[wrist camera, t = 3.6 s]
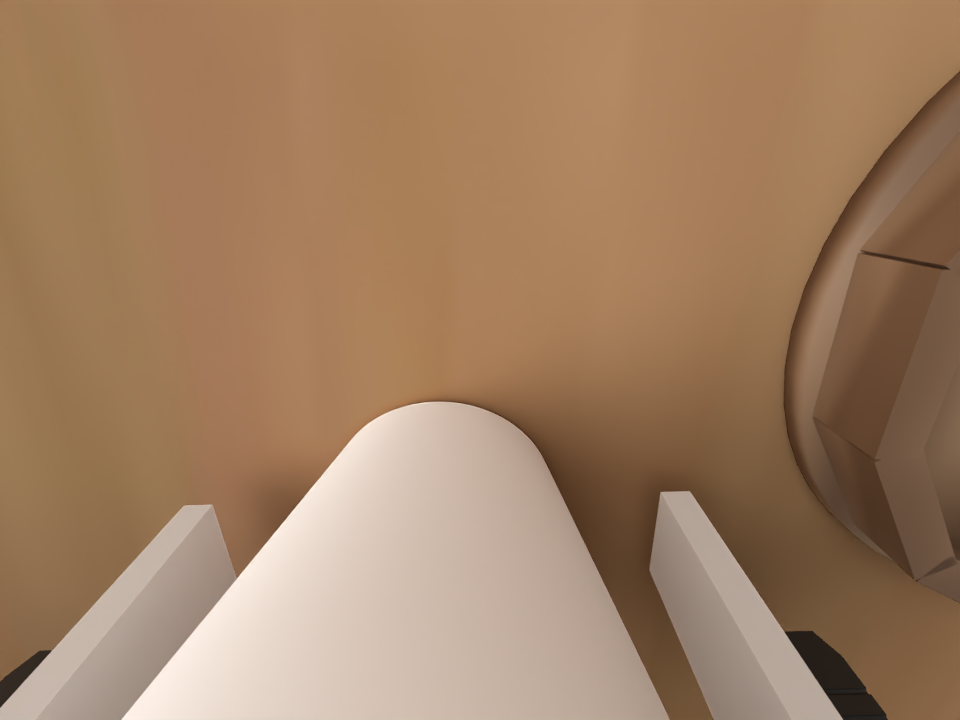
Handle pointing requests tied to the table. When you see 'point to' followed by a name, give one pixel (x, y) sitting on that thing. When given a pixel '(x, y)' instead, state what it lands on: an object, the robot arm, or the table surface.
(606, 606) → the cup
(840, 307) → the round tray
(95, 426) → the table surface
